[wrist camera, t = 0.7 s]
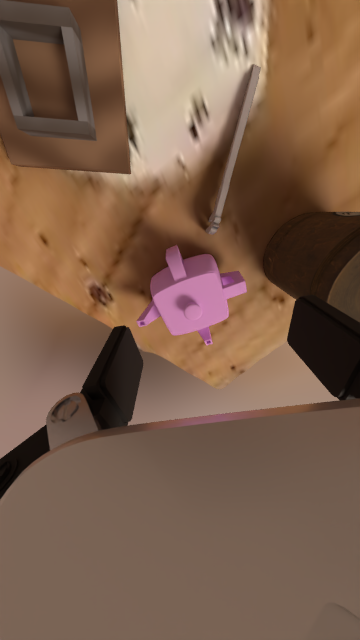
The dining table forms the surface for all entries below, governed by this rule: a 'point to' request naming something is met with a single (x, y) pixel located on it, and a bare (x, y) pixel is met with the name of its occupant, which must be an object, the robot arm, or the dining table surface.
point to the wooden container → (318, 259)
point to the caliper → (234, 151)
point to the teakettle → (191, 294)
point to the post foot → (63, 85)
